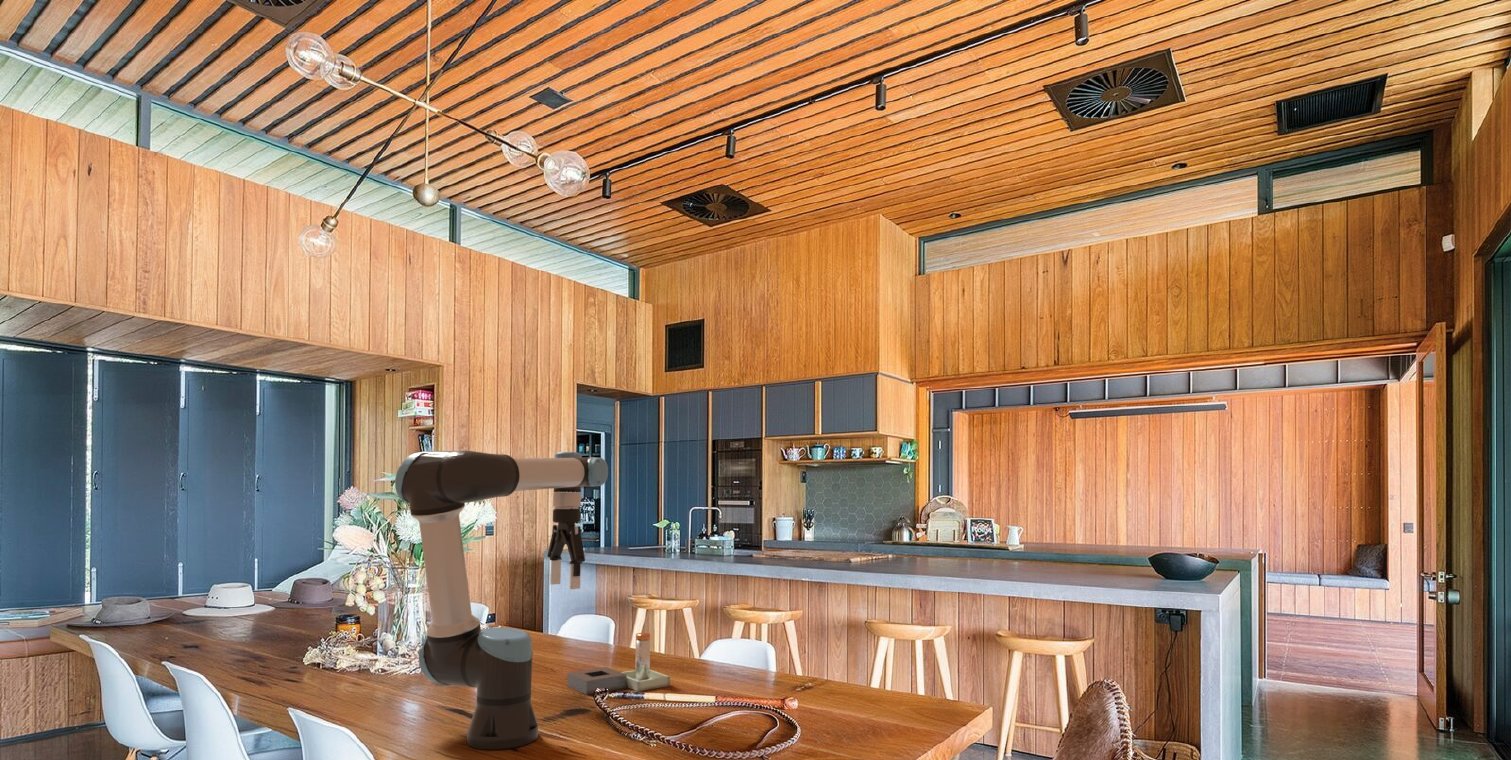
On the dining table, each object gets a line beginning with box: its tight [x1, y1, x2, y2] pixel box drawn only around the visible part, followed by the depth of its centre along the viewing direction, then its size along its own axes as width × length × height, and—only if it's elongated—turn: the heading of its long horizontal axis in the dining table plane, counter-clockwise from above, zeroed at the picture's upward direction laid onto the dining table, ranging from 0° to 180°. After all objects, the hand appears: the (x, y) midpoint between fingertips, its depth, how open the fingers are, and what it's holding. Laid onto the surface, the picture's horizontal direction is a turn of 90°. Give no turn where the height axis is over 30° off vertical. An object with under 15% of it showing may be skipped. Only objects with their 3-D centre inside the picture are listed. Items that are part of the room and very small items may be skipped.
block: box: [566, 666, 628, 695], centre depth 234 cm, size 12×12×4 cm
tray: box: [621, 669, 671, 692], centre depth 236 cm, size 10×13×2 cm
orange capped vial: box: [634, 632, 651, 681], centre depth 237 cm, size 4×4×13 cm
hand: (564, 586), depth 232 cm, fingers open, 13 cm apart
